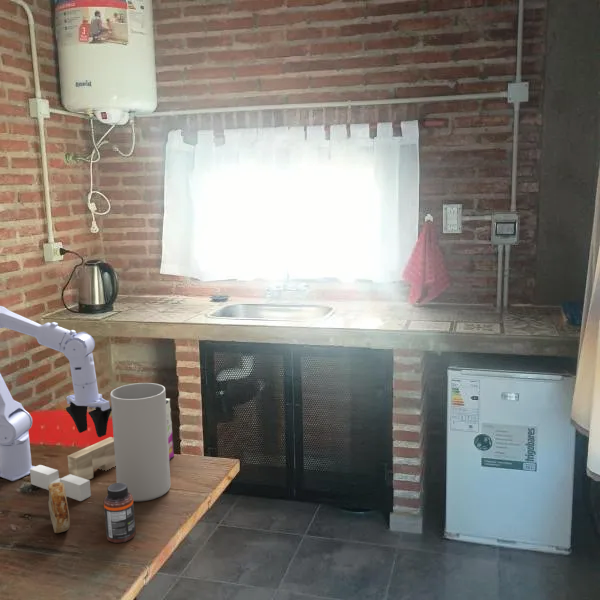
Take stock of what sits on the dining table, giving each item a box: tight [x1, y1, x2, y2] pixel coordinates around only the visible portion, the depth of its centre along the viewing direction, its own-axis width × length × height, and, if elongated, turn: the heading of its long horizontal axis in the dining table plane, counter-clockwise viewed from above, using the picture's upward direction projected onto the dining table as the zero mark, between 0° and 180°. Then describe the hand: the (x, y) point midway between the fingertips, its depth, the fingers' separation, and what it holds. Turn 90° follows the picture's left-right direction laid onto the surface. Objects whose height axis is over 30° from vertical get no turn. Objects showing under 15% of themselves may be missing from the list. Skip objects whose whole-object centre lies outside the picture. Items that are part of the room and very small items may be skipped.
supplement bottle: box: [103, 482, 136, 544], centre depth 139 cm, size 6×6×11 cm
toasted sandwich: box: [47, 482, 71, 534], centre depth 143 cm, size 10×4×10 cm, turn 25°
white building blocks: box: [29, 464, 92, 502], centre depth 161 cm, size 18×3×4 cm, turn 58°
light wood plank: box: [67, 436, 116, 480], centre depth 170 cm, size 3×14×7 cm, turn 148°
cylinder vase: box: [110, 382, 172, 502], centre depth 159 cm, size 12×12×25 cm
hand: (92, 433), depth 169 cm, fingers open, 7 cm apart
